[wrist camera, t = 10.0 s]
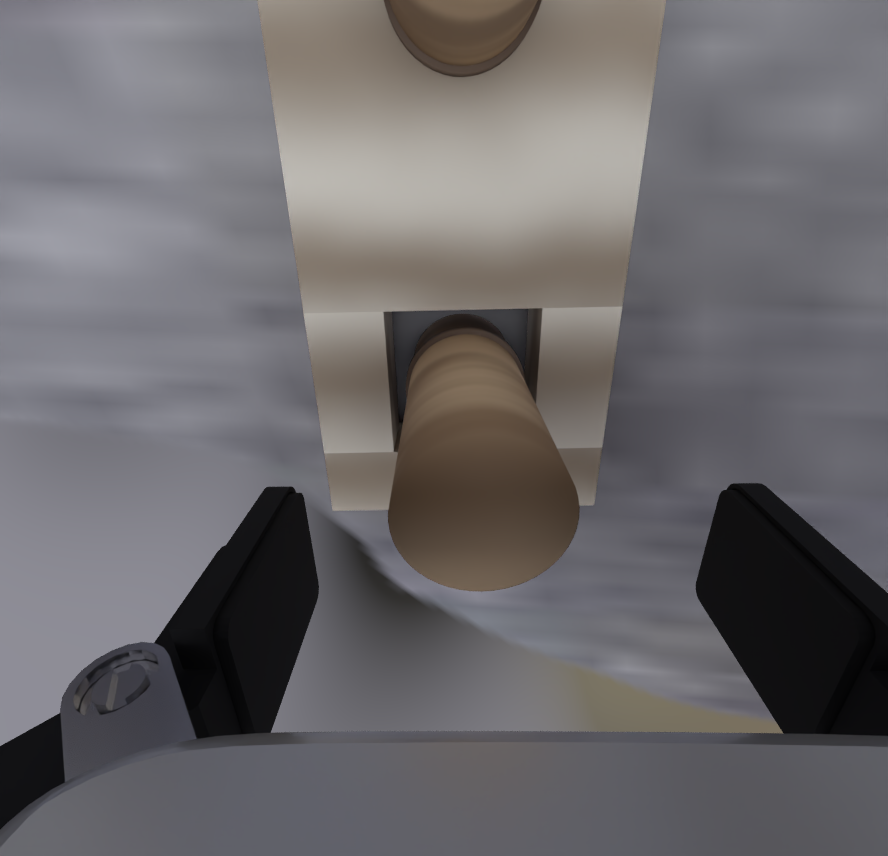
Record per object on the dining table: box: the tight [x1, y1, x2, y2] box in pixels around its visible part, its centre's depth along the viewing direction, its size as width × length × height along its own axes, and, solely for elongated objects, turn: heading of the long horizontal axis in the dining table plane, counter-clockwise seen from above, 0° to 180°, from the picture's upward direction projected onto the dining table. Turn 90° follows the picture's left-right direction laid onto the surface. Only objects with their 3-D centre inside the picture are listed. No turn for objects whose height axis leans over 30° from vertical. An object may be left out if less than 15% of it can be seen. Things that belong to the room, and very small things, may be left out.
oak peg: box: [388, 314, 580, 591], centre depth 16 cm, size 5×5×12 cm
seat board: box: [257, 0, 666, 511], centre depth 14 cm, size 24×12×12 cm, turn 1°
